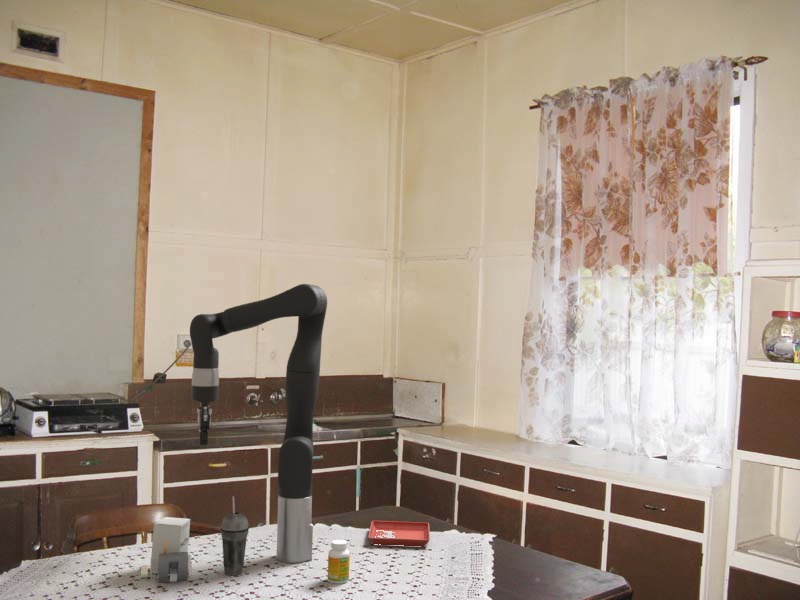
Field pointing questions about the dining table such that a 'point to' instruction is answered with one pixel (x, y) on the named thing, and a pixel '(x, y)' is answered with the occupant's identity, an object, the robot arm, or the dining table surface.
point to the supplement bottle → (338, 562)
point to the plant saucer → (400, 533)
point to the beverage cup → (234, 542)
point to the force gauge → (163, 567)
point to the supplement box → (169, 538)
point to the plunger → (172, 567)
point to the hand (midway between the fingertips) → (203, 444)
